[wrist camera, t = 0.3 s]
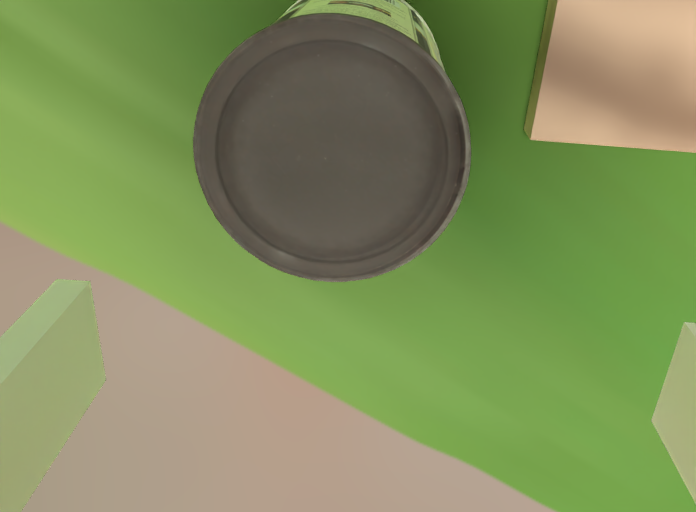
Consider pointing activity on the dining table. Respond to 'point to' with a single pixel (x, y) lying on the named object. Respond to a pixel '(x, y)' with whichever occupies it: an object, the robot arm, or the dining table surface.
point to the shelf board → (616, 74)
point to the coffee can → (334, 140)
